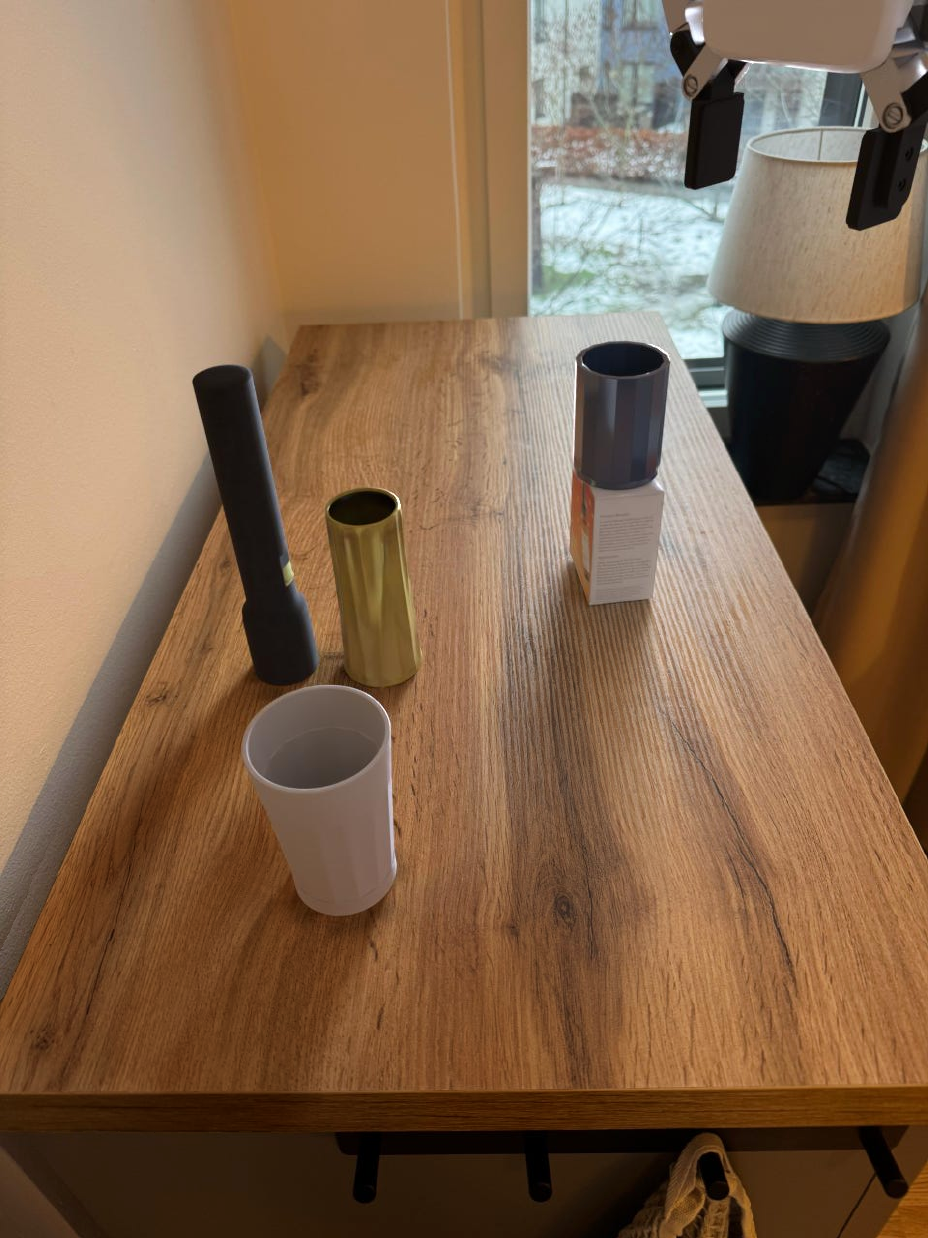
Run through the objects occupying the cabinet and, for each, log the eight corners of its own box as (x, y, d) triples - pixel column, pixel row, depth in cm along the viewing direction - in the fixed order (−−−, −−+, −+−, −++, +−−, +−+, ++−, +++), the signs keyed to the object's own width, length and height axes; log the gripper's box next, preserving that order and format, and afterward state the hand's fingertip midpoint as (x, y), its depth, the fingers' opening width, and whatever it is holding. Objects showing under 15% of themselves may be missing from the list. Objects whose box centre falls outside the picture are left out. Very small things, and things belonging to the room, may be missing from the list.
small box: (568, 552, 82) (571, 447, 75) (630, 546, 82) (638, 440, 75) (587, 607, 76) (592, 498, 69) (654, 600, 76) (665, 490, 69)
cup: (256, 907, 55) (212, 772, 47) (317, 806, 61) (286, 672, 53) (377, 944, 53) (351, 809, 45) (429, 837, 58) (413, 701, 51)
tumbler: (668, 455, 73) (679, 346, 68) (645, 496, 69) (655, 384, 63) (588, 441, 76) (592, 336, 70) (561, 481, 71) (563, 371, 65)
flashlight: (243, 680, 71) (302, 691, 69) (164, 388, 56) (238, 395, 54) (272, 639, 74) (329, 649, 73) (205, 355, 59) (275, 361, 58)
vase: (404, 696, 68) (384, 537, 59) (330, 679, 70) (301, 522, 61) (434, 645, 73) (420, 489, 64) (364, 630, 75) (341, 477, 66)
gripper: (1169, -331, 30) (1000, 223, 40) (749, -261, 41) (704, 159, 52) (1043, -343, 26) (896, 263, 37) (625, -263, 38) (605, 185, 48)
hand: (784, 202), depth 44 cm, fingers open, 9 cm apart
